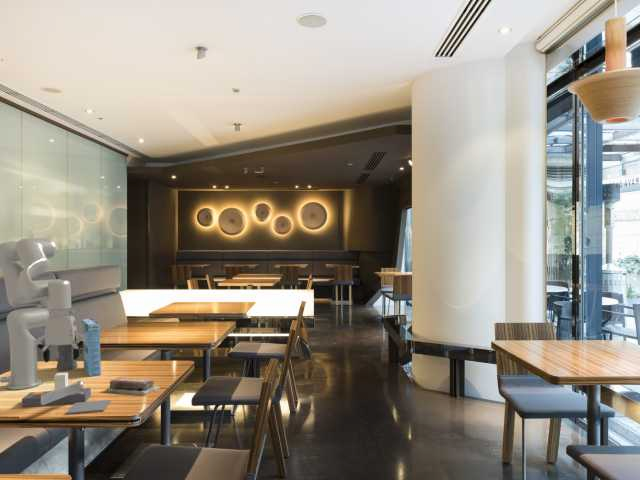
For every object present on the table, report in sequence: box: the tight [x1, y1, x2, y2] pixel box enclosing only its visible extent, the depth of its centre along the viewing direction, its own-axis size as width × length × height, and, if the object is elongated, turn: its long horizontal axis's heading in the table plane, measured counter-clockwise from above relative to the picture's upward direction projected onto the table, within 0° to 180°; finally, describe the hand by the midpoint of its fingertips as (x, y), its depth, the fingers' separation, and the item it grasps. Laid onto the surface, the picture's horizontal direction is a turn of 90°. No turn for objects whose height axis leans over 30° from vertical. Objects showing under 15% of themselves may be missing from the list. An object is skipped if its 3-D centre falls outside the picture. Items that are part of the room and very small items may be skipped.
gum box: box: [81, 318, 102, 377], centre depth 227 cm, size 20×5×23 cm, turn 32°
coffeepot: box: [56, 344, 78, 372], centre depth 236 cm, size 15×9×18 cm, turn 54°
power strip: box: [21, 387, 92, 408], centre depth 184 cm, size 21×8×4 cm, turn 101°
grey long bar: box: [41, 380, 84, 405], centre depth 175 cm, size 18×2×3 cm, turn 164°
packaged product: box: [106, 376, 161, 396], centre depth 196 cm, size 18×5×10 cm
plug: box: [52, 372, 69, 391], centre depth 184 cm, size 6×6×10 cm
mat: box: [65, 399, 112, 415], centre depth 176 cm, size 12×11×1 cm
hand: (61, 360), depth 184 cm, fingers open, 9 cm apart
